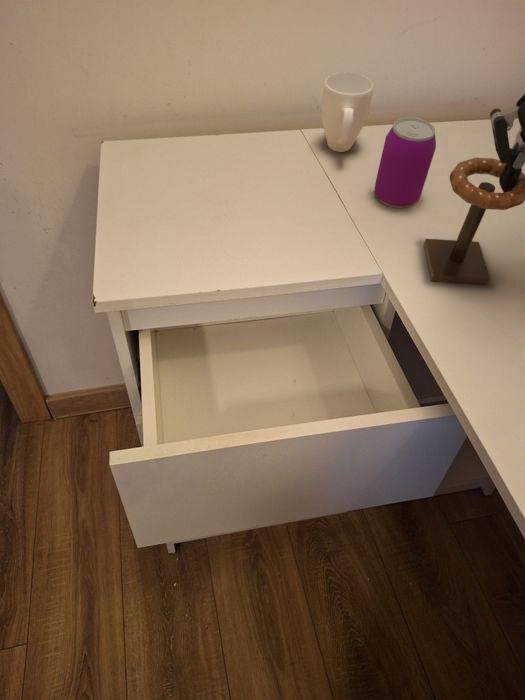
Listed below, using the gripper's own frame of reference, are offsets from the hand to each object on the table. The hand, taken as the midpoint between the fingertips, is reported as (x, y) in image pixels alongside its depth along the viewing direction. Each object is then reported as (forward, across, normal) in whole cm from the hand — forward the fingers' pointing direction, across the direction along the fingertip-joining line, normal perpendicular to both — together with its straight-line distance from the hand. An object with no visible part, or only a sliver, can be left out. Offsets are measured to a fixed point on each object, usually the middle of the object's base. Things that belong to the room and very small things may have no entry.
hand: (516, 190), depth 66 cm
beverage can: (+13, -11, +16) cm, 23 cm away
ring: (-1, -4, 0) cm, 4 cm away
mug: (+13, -20, +29) cm, 38 cm away
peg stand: (+13, -4, 0) cm, 13 cm away
